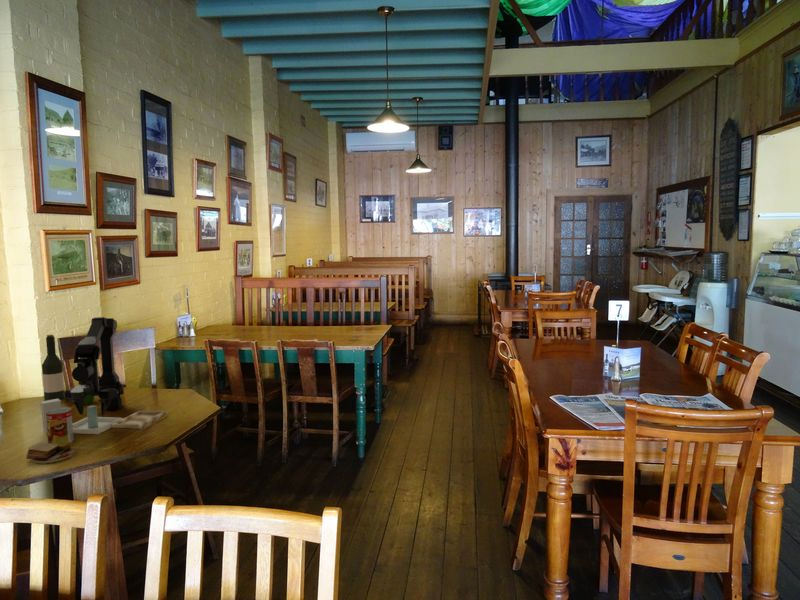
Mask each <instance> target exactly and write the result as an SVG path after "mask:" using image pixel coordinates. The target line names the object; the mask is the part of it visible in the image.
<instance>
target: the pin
mask: <svg viewBox="0 0 800 600" xmlns="http://www.w3.org/2000/svg"><path fill="white" fill-rule="evenodd" d="M86 417H87V418H88V428H96V427H98V418H97V417H98V406H97V405H89V406H87V407H86Z"/></svg>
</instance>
